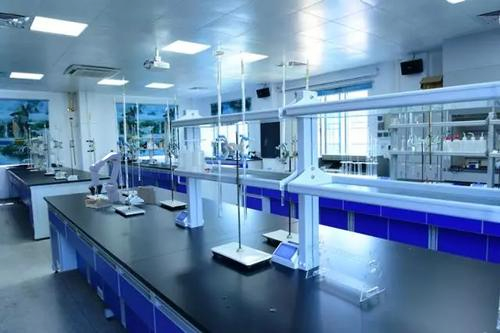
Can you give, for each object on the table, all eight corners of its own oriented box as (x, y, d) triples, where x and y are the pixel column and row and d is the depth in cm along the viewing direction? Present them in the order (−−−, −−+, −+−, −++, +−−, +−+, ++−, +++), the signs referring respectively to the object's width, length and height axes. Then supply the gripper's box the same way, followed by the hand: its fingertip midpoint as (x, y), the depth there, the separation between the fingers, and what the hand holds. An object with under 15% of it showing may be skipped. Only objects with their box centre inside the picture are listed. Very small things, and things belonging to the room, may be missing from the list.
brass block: (100, 203, 290) (100, 197, 290) (104, 204, 288) (104, 198, 287) (96, 204, 287) (96, 198, 287) (100, 205, 284) (99, 199, 284)
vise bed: (101, 203, 299) (100, 198, 298) (112, 205, 290) (112, 199, 290) (85, 206, 287) (85, 201, 286) (97, 208, 278) (96, 202, 278)
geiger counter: (156, 187, 293) (136, 185, 306) (150, 188, 288) (130, 186, 301) (157, 203, 294) (137, 200, 308) (151, 204, 289) (131, 202, 302)
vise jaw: (95, 201, 301) (95, 197, 301) (101, 202, 296) (101, 198, 296) (82, 203, 291) (82, 200, 291) (88, 204, 286) (88, 201, 286)
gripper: (93, 179, 280) (94, 196, 281) (105, 177, 294) (106, 193, 295) (86, 179, 282) (87, 196, 283) (98, 177, 296) (99, 193, 297)
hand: (96, 194), depth 289 cm, fingers open, 7 cm apart
